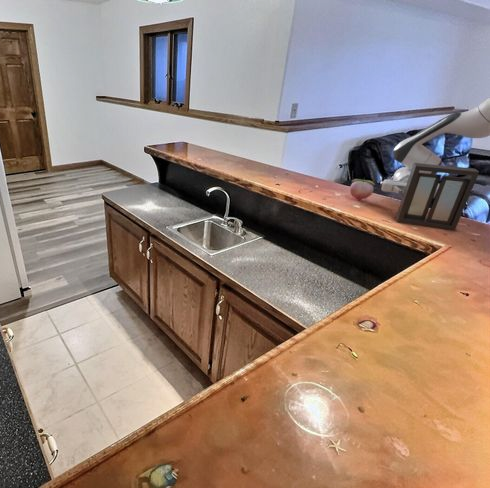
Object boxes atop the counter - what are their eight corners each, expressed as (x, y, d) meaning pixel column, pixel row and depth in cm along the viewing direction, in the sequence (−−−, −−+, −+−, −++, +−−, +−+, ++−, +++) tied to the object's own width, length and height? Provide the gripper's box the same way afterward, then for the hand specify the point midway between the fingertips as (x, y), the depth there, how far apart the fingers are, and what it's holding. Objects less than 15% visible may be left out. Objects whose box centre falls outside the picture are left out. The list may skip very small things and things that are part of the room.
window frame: (451, 225, 130) (474, 168, 120) (454, 230, 125) (479, 171, 116) (395, 217, 136) (413, 162, 127) (397, 222, 132) (416, 165, 123)
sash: (422, 215, 134) (438, 172, 127) (425, 219, 131) (441, 175, 123) (401, 212, 137) (415, 169, 130) (403, 216, 133) (417, 172, 126)
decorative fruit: (370, 198, 156) (376, 177, 152) (370, 204, 150) (376, 181, 145) (347, 195, 160) (353, 174, 156) (346, 200, 154) (351, 178, 149)
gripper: (381, 173, 145) (385, 182, 134) (440, 180, 138) (449, 189, 127) (377, 188, 148) (380, 197, 137) (435, 195, 141) (443, 205, 129)
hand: (414, 193), depth 132 cm, fingers open, 8 cm apart
